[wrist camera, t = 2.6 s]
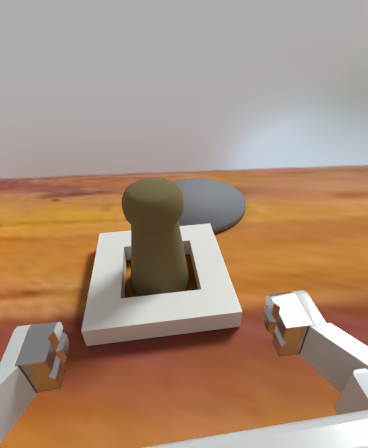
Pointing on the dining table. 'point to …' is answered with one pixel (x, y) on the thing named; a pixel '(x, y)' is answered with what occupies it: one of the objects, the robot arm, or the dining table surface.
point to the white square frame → (160, 303)
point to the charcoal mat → (210, 204)
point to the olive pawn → (156, 237)
